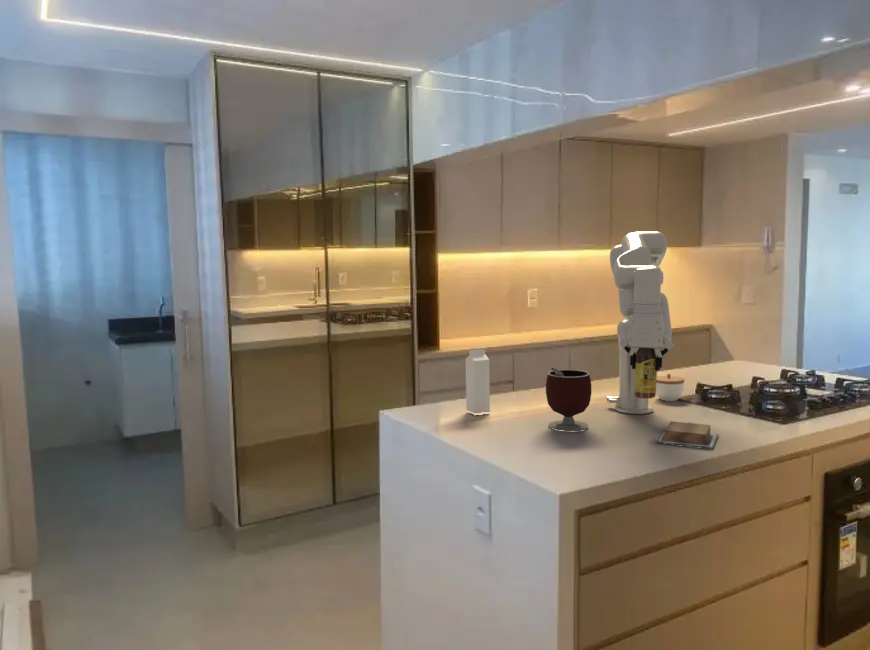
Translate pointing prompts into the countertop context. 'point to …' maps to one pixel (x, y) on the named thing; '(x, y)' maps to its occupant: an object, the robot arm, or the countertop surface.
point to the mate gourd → (568, 397)
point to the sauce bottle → (645, 373)
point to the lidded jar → (669, 387)
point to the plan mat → (688, 435)
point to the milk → (477, 382)
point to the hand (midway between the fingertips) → (645, 368)
